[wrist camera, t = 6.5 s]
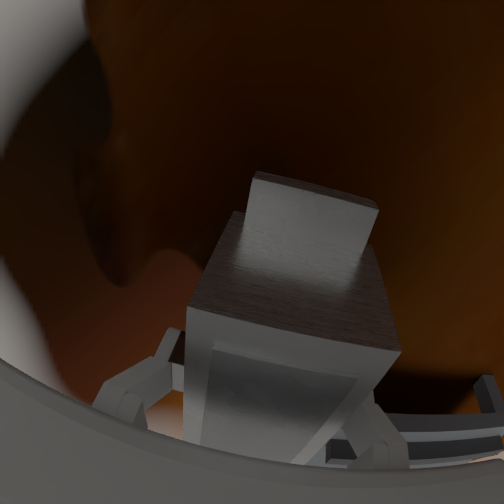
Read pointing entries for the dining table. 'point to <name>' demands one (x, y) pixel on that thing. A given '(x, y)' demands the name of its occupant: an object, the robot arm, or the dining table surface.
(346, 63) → the dining table surface
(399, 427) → the stand
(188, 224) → the dining table surface
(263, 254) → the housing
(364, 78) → the dining table surface
